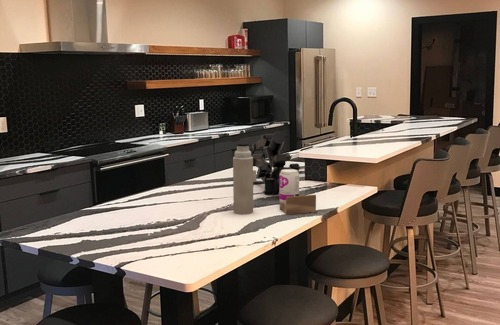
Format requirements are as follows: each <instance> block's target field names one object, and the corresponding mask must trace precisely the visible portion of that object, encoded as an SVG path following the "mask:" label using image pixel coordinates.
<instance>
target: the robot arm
mask: <svg viewBox="0 0 500 325" xmlns="http://www.w3.org/2000/svg"><path fill="white" fill-rule="evenodd" d="M285 140H286V138H285V136H284V135H282V134H280V133H279V131H275V132H273V133H269V134H262V135H261V137H260V140H257V141H255V142H254V143H252V144H251V147H250V148H249V151H251V157H253V167H256V168H257V170H256V177H257V178H261V179H260V180H261V181H262V182H264V195H266V196H267V195H268V196H271V195H273V196H274V195H275V196H276V195H280V172H281V170H283V169H295V170H298V172H299V171H300V170H301V167H300V164H299V163H297V162H296V163H290V164H289V166H286V163H287V162H288V161H290V160H291V154H290V152H284V153H280V152H281V150H282V148H283V146H284V143H285V142H286V141H285ZM264 149H266V150H265V152H264ZM256 151H257V152H258V151H261V153H258V154H257V153H256V154H255V152H256ZM266 156H267V159H268V161H266Z"/></svg>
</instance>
